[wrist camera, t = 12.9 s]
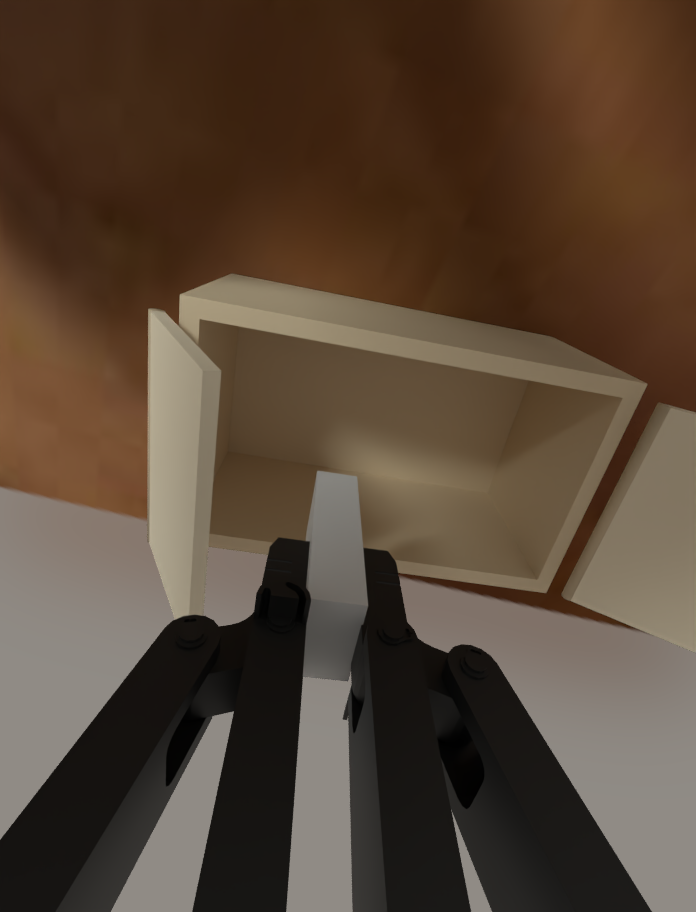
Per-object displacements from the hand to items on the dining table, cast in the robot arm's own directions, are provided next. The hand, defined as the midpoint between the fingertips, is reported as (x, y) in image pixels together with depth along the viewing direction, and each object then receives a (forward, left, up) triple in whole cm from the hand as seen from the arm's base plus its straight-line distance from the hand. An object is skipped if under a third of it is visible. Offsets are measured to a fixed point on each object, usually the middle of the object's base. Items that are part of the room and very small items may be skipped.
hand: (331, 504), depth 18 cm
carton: (+3, 0, -14) cm, 15 cm away
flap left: (-8, 0, -4) cm, 8 cm away
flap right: (+14, 0, -4) cm, 14 cm away
